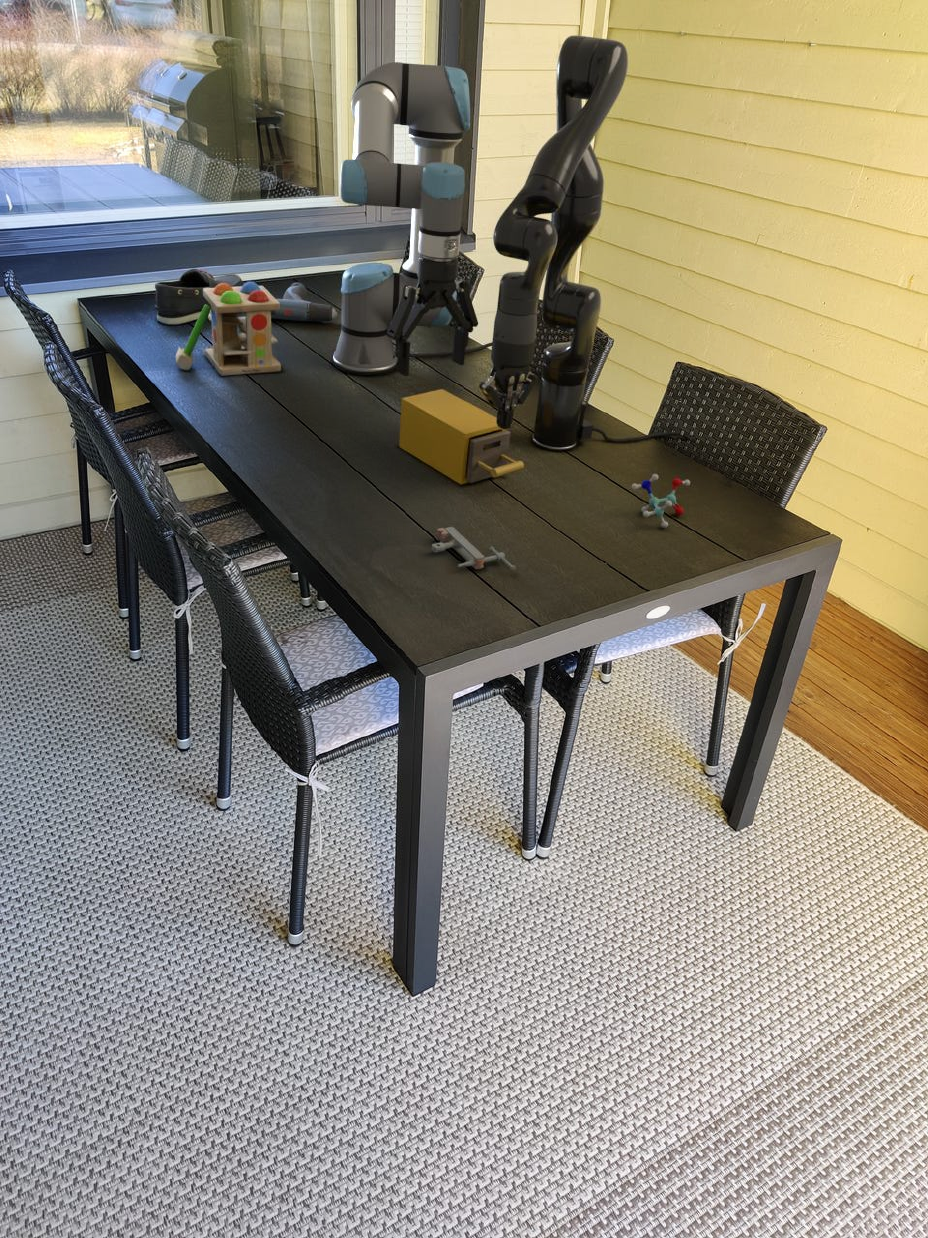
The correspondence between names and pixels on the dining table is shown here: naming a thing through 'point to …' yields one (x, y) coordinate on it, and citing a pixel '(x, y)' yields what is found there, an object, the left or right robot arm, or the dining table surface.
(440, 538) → the clamp
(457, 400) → the cabinet
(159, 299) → the boat shoe
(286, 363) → the dining table surface
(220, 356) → the pounding bench toy
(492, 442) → the drawer
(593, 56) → the right robot arm
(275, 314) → the power drill
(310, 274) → the dining table surface
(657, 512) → the molecular model
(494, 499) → the dining table surface
